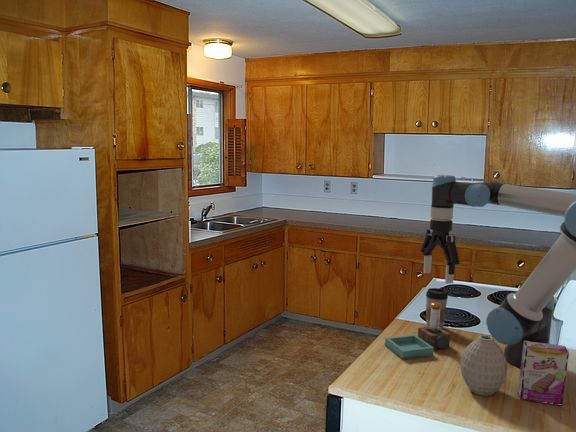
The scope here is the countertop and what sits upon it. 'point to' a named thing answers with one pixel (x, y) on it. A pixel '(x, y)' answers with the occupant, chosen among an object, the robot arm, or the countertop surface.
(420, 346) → the tray
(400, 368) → the countertop surface
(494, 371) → the vase
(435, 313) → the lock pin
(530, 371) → the candy bar box
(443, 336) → the tensioner block
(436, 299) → the coffee cup
